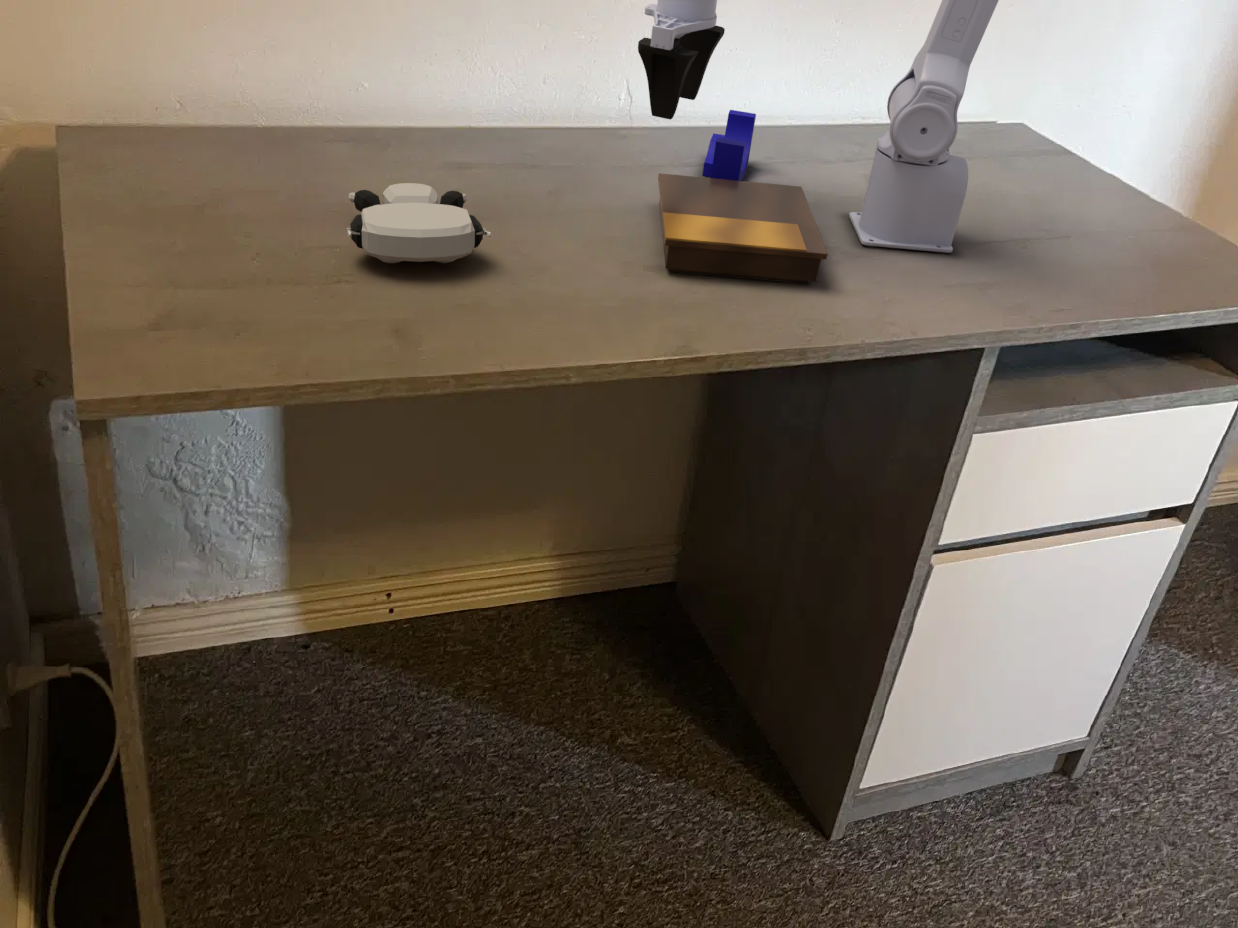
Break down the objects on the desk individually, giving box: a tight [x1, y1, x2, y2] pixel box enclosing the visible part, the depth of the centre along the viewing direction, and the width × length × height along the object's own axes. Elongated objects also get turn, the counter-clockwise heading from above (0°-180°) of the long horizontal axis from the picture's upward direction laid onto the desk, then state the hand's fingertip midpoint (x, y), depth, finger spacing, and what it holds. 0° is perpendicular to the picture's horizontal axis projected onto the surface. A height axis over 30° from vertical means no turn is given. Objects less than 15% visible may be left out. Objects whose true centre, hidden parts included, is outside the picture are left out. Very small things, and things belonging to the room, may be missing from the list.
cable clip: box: [702, 109, 757, 181], centre depth 127 cm, size 12×4×6 cm, turn 168°
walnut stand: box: [657, 173, 829, 285], centre depth 112 cm, size 15×17×4 cm
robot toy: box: [346, 182, 492, 264], centre depth 105 cm, size 12×4×15 cm
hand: (674, 107), depth 116 cm, fingers open, 7 cm apart
